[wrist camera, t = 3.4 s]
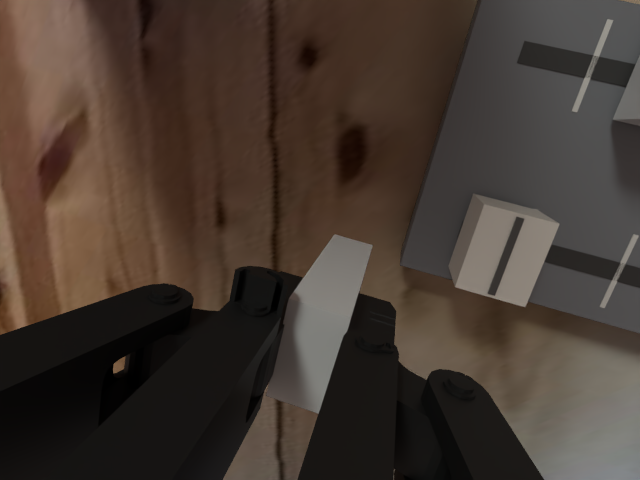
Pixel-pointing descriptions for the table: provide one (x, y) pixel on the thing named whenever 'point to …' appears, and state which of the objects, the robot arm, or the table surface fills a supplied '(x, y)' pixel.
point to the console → (544, 149)
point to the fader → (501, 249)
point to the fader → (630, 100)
